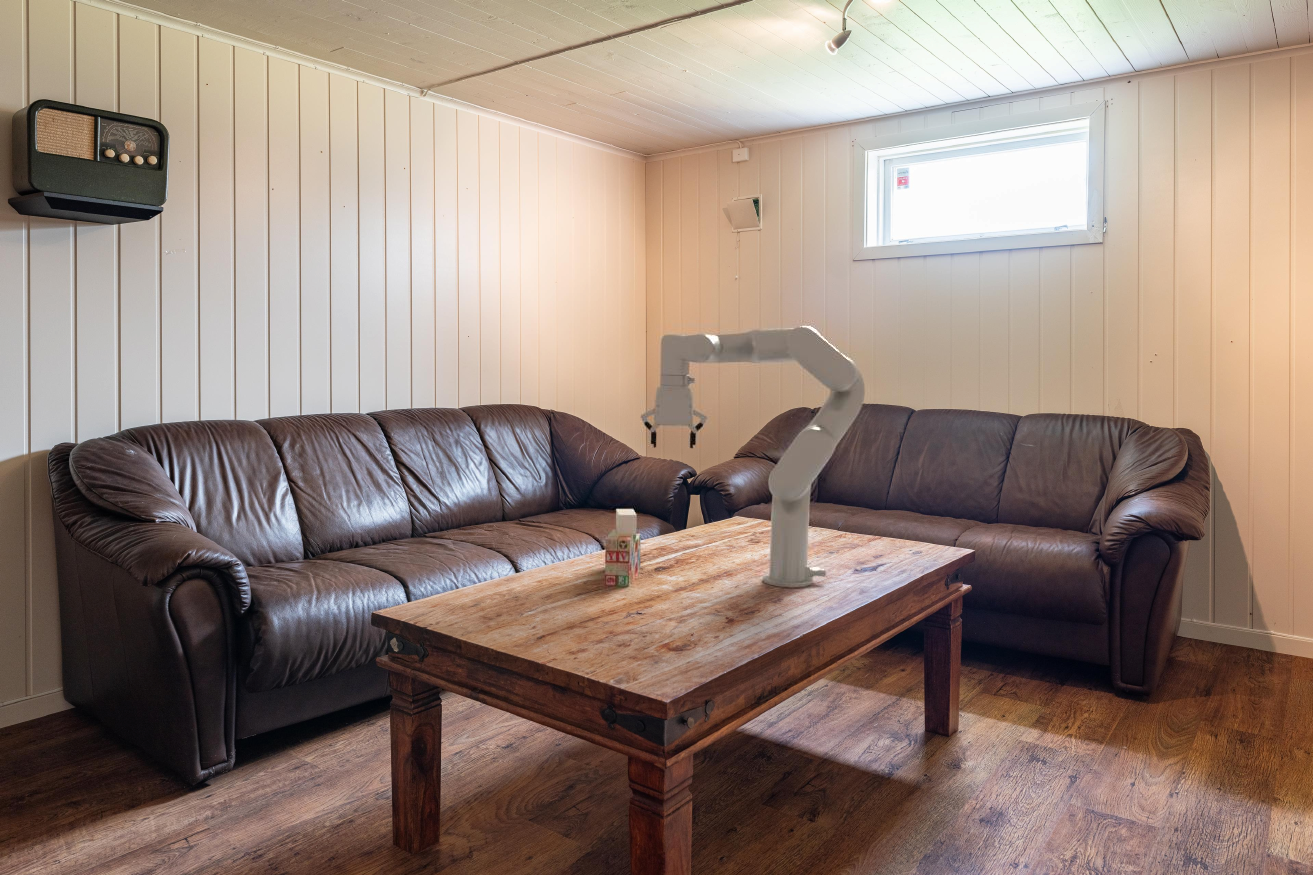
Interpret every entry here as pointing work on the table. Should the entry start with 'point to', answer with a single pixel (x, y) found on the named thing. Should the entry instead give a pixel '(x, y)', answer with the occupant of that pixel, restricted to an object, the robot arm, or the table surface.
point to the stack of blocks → (621, 558)
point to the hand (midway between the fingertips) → (673, 447)
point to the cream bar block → (626, 521)
